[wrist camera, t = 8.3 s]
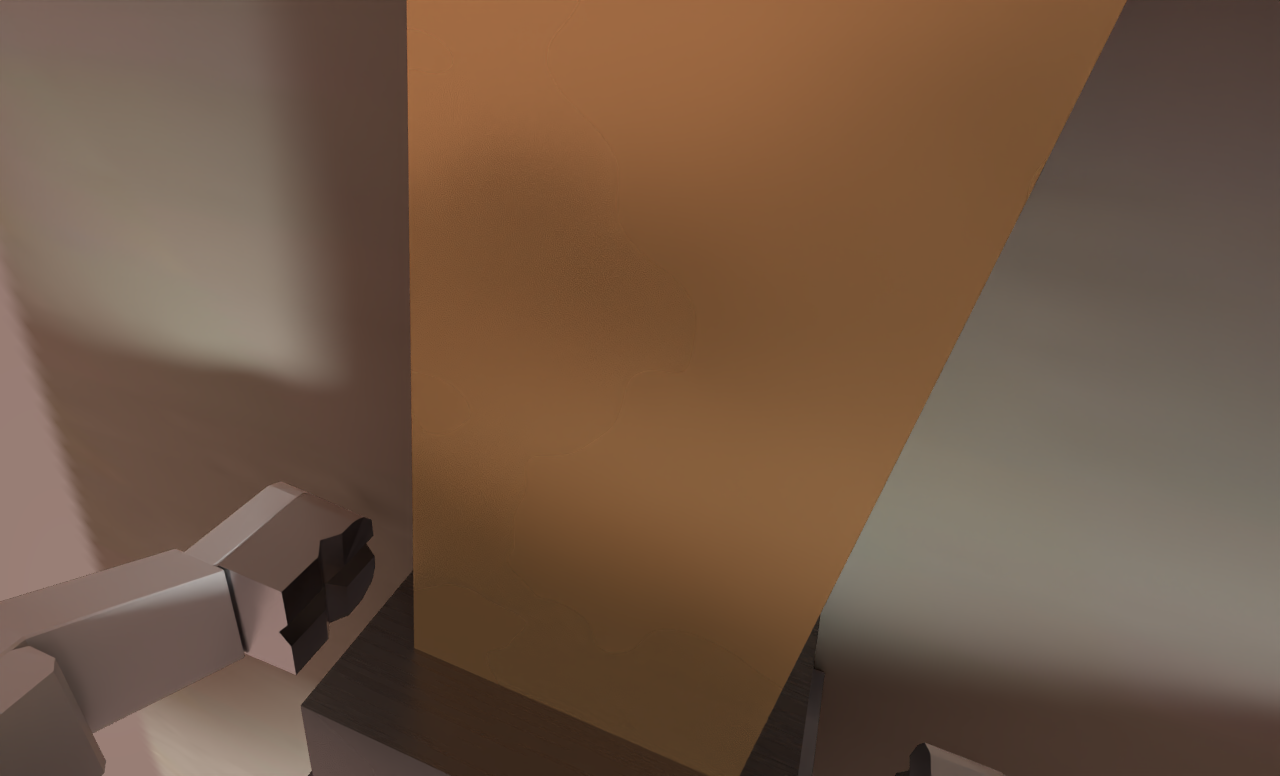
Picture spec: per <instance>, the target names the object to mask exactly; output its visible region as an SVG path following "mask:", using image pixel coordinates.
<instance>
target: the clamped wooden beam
mask: <svg viewBox="0 0 1280 776" xmlns="http://www.w3.org/2000/svg"><path fill="white" fill-rule="evenodd" d="M1126 1H1127V0H407V80H408V165H409V250H410V336H411V421H412V506H413V571H412V572H411V573H410V574H409V576H408V577H407V578H406V579H405V581H404V582H403V583H402V584H401V585H400V587H399V588H398V589H397V590H396V591H395V593H394V594H393V595H392V596H391V597H390V599H389V600H388V601H387V602H386V603H385V605H384V606H383V607H382V608H381V609H380V611H379V612H378V613H377V614H376V615H375V617H374V618H373V619H372V620H371V621H370V623H369V624H368V625H367V626H366V627H365V629H364V630H363V631H362V632H361V634H360V635H359V636H358V637H357V638H356V640H355V641H354V642H353V643H352V644H351V646H350V647H349V648H348V649H347V650H346V652H345V653H344V654H343V655H342V656H341V658H340V659H339V660H338V661H337V662H336V664H335V665H334V666H333V667H332V668H331V670H330V671H329V672H328V673H327V674H326V676H325V677H324V678H323V679H322V680H321V682H320V683H319V684H318V685H317V687H316V688H315V689H314V690H313V691H312V693H311V694H310V695H309V696H308V697H307V699H306V700H305V701H304V702H303V703H302V705H301V711H302V716H303V722H304V728H305V733H306V739H307V745H308V751H309V756H310V762H311V768H312V774H313V776H798V772H799V765H800V758H801V750H802V743H803V736H804V729H805V722H806V715H807V707H808V700H809V693H810V686H811V679H812V672H813V664H814V657H815V650H816V643H817V636H818V629H819V621H820V614H821V611H822V609H823V607H824V605H825V603H826V601H827V599H828V597H829V595H830V593H831V591H832V589H833V587H834V585H835V583H836V581H837V579H838V577H839V575H840V573H841V571H842V569H843V567H844V565H845V563H846V561H847V559H848V557H849V555H850V553H851V551H852V549H853V547H854V545H855V543H856V541H857V539H858V537H859V535H860V533H861V531H862V529H863V527H864V525H865V523H866V521H867V519H868V517H869V515H870V513H871V511H872V509H873V507H874V505H875V503H876V501H877V499H878V497H879V495H880V493H881V491H882V489H883V487H884V485H885V483H886V481H887V479H888V477H889V475H890V473H891V471H892V469H893V467H894V465H895V463H896V461H897V459H898V457H899V455H900V453H901V451H902V449H903V447H904V445H905V443H906V441H907V439H908V437H909V435H910V433H911V431H912V429H913V427H914V425H915V423H916V421H917V419H918V417H919V415H920V413H921V411H922V409H923V407H924V405H925V403H926V401H927V399H928V397H929V395H930V393H931V391H932V389H933V387H934V385H935V383H936V381H937V379H938V377H939V375H940V373H941V371H942V369H943V367H944V365H945V363H946V361H947V359H948V357H949V355H950V353H951V351H952V349H953V347H954V345H955V343H956V341H957V339H958V337H959V335H960V333H961V331H962V329H963V327H964V325H965V323H966V321H967V319H968V317H969V315H970V313H971V311H972V309H973V307H974V305H975V303H976V301H977V299H978V297H979V295H980V293H981V291H982V289H983V287H984V285H985V283H986V281H987V279H988V277H989V275H990V273H991V271H992V269H993V267H994V265H995V263H996V261H997V259H998V257H999V255H1000V253H1001V251H1002V249H1003V247H1004V245H1005V243H1006V241H1007V239H1008V237H1009V235H1010V233H1011V231H1012V229H1013V227H1014V225H1015V223H1016V221H1017V219H1018V217H1019V215H1020V213H1021V211H1022V209H1023V207H1024V205H1025V203H1026V201H1027V199H1028V197H1029V195H1030V193H1031V191H1032V189H1033V187H1034V185H1035V183H1036V181H1037V179H1038V177H1039V175H1040V173H1041V171H1042V169H1043V167H1044V165H1045V163H1046V161H1047V159H1048V157H1049V155H1050V153H1051V151H1052V149H1053V147H1054V145H1055V143H1056V141H1057V139H1058V137H1059V135H1060V133H1061V131H1062V129H1063V127H1064V125H1065V123H1066V121H1067V119H1068V117H1069V115H1070V113H1071V111H1072V109H1073V107H1074V105H1075V103H1076V101H1077V99H1078V97H1079V95H1080V93H1081V91H1082V89H1083V87H1084V85H1085V83H1086V81H1087V79H1088V77H1089V75H1090V73H1091V71H1092V69H1093V67H1094V65H1095V63H1096V61H1097V59H1098V57H1099V55H1100V53H1101V51H1102V49H1103V47H1104V45H1105V43H1106V41H1107V39H1108V37H1109V35H1110V33H1111V31H1112V29H1113V27H1114V25H1115V23H1116V21H1117V19H1118V17H1119V15H1120V13H1121V11H1122V9H1123V7H1124V5H1125V3H1126Z"/></svg>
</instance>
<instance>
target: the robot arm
mask: <svg viewBox="0 0 1280 776" xmlns="http://www.w3.org/2000/svg"><path fill="white" fill-rule="evenodd" d="M372 536H373V529H372V520H371V519H369V518H366V517H364V516H362V515H359V514H357V513H355V512H352V511H350V510H348V509H345V508H343V507H341V506H339V505H336V504H334V503H332V502H329V501H327V500H325V499H322V498H320V497H318V496H315V495H313V494H311V493H309V492H306V491H304V490H301V489H299V488H297V487H294V486H292V485H289V484H287V483H284V482H282V481H280V482H277V483H274V484H271V485H269V486H267V487H266V488H264V489H263V490H262V491H261V492H259V493H258V494H257V495H256V496H254V497H253V498H252V499H251V500H249V501H248V502H247V503H245V504H244V505H243V506H242V507H240V508H239V509H238V510H237V511H235V512H234V513H233V514H232V515H230V516H229V517H228V518H227V519H225V520H224V521H223V522H221V523H220V524H219V525H218V526H216V527H215V528H214V529H213V530H211V531H210V532H209V533H208V534H206V535H205V536H204V537H203V538H201V539H200V540H199V541H197V542H196V543H195V544H194V545H192V546H191V547H190V548H189V549H187V550H186V551H185V552H183V551H181V550H178V549H173V550H169V551H166V552H163V553H159V554H156V555H153V556H149V557H146V558H143V559H139V560H136V561H133V562H129V563H126V564H123V565H119V566H116V567H113V568H110V569H106V570H103V571H100V572H96V573H93V574H90V575H86V576H83V577H80V578H76V579H73V580H70V581H66V582H63V583H60V584H56V585H53V586H50V587H47V588H43V589H40V590H37V591H33V592H30V593H27V594H23V595H20V596H17V597H13V598H10V599H7V600H3V601H0V776H102V774H104V771H105V764H106V760H105V758H104V756H103V754H102V752H101V750H100V748H99V746H98V744H97V742H96V740H95V738H94V736H93V733H95V732H97V731H98V730H100V729H102V728H104V727H106V726H108V725H110V724H112V723H114V722H116V721H118V720H120V719H122V718H124V717H126V716H128V715H130V714H132V713H134V712H136V711H138V710H140V709H142V708H144V707H146V706H148V705H150V704H152V703H154V702H156V701H158V700H160V699H162V698H164V697H166V696H168V695H170V694H172V693H174V692H176V691H178V690H180V689H182V688H184V687H186V686H188V685H190V684H192V683H194V682H196V681H198V680H200V679H202V678H204V677H206V676H208V675H210V674H212V673H214V672H216V671H218V670H220V669H222V668H224V667H226V666H228V665H230V664H232V663H234V662H236V661H238V660H240V659H242V658H244V656H245V655H244V653H245V654H247V655H250V656H252V657H254V658H257V659H259V660H261V661H264V662H266V663H269V664H271V665H273V666H276V667H278V668H280V669H283V670H285V671H287V672H290V673H292V674H294V675H297V674H298V672H299V671H300V670H301V669H302V668H303V667H304V666H305V664H306V663H307V662H308V661H309V660H310V659H311V658H312V657H313V655H314V654H315V653H316V652H317V651H318V650H319V649H320V647H321V646H322V645H323V644H324V643H325V642H326V641H327V640H328V637H329V625H330V622H333V621H335V620H338V619H340V618H343V617H345V616H348V615H349V614H350V613H351V612H352V611H353V610H354V608H355V607H356V606H357V605H358V604H359V603H360V601H361V600H362V599H363V597H364V595H365V593H366V591H367V589H368V587H369V585H370V584H371V582H372V578H373V574H374V569H375V556H374V555H373V553H372V552H371V550H370V549H369V547H368V546H367V544H366V543H367V542H368V541H369V540H370V538H371V537H372ZM895 776H1006V775H1003V774H1002V773H1001V772H1000V771H997V770H994V769H992V768H989V767H987V766H984V765H981V764H979V763H976V762H974V761H971V760H969V759H966V758H963V757H961V756H958V755H956V754H953V753H951V752H948V751H945V750H943V749H940V748H938V747H935V746H933V745H930V744H927V743H922V744H919V745H917V747H916V748H915V749H914V750H913V752H912V753H911V754H910V770H908V771H904V772H899V773H896V774H895Z"/></svg>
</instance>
